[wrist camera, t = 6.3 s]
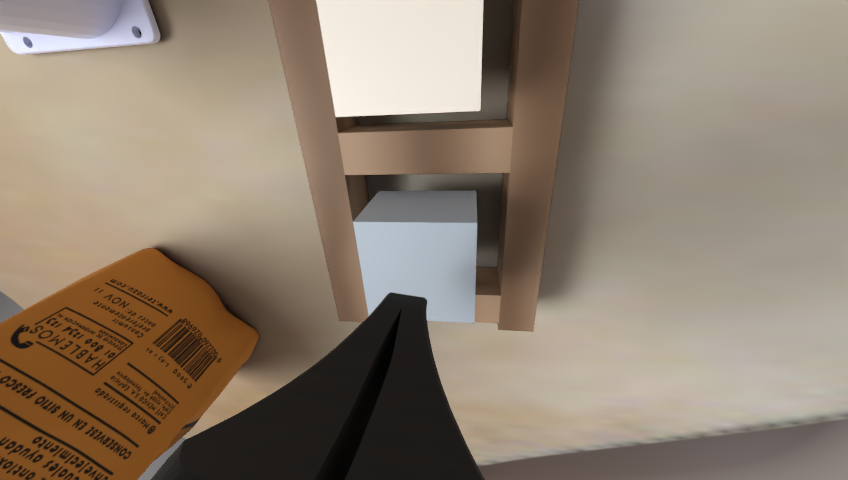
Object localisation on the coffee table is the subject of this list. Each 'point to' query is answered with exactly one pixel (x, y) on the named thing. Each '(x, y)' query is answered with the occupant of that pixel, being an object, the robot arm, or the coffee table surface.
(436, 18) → the cream block
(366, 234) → the slate block
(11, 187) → the coffee table surface
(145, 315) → the coffee package
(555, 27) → the block rack
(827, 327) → the coffee table surface
